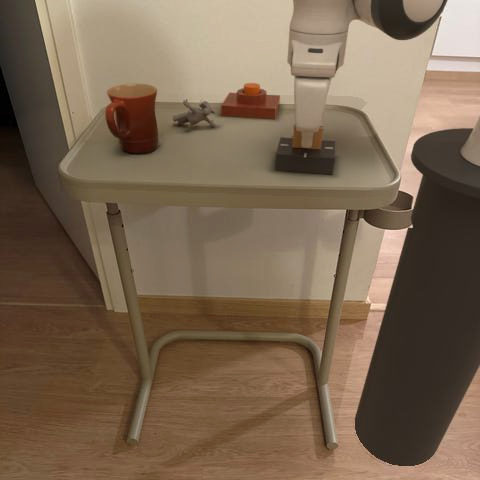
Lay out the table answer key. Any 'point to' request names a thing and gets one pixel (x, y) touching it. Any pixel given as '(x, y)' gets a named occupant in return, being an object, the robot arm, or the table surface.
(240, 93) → the button box
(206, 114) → the grey branched piece
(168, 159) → the table surface
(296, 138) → the tan upright tile
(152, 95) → the mug
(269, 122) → the table surface
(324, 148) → the panel
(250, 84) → the button
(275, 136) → the table surface
